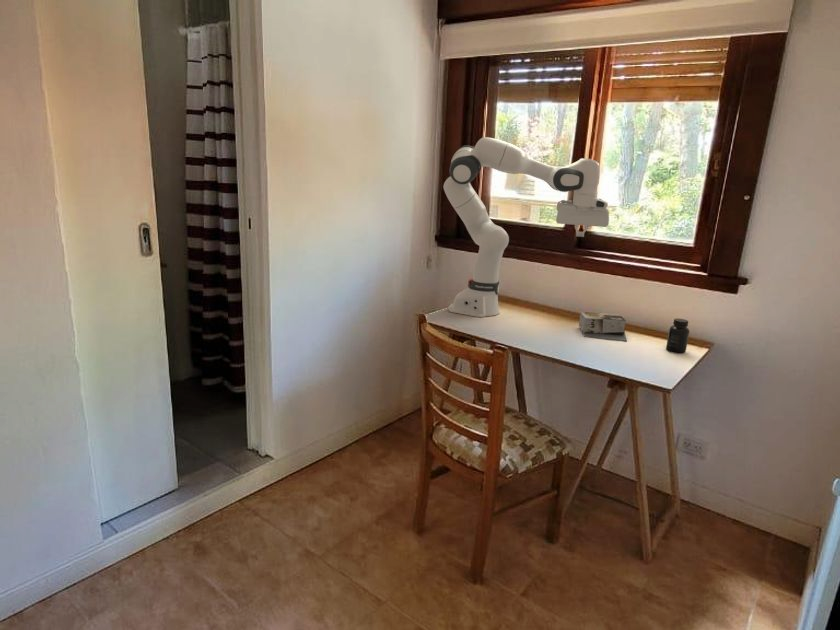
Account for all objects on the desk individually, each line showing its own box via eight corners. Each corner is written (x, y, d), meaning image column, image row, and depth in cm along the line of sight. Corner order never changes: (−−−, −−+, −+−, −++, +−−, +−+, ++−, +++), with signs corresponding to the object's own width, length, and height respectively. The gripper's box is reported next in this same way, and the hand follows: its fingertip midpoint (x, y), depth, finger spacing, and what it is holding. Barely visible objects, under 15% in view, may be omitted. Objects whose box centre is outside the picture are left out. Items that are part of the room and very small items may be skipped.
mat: (583, 336, 216) (584, 335, 216) (583, 327, 228) (583, 325, 228) (626, 341, 212) (626, 340, 212) (624, 331, 224) (624, 330, 224)
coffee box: (582, 333, 219) (624, 335, 217) (584, 317, 217) (626, 320, 216) (578, 326, 227) (618, 329, 226) (580, 311, 226) (620, 314, 224)
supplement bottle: (689, 353, 202) (695, 323, 199) (672, 354, 201) (678, 323, 198) (678, 347, 209) (684, 317, 205) (661, 347, 208) (667, 317, 204)
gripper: (557, 200, 216) (553, 235, 220) (611, 203, 211) (606, 239, 215) (557, 199, 222) (553, 233, 226) (610, 202, 217) (605, 237, 221)
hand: (580, 236), depth 220 cm, fingers closed
